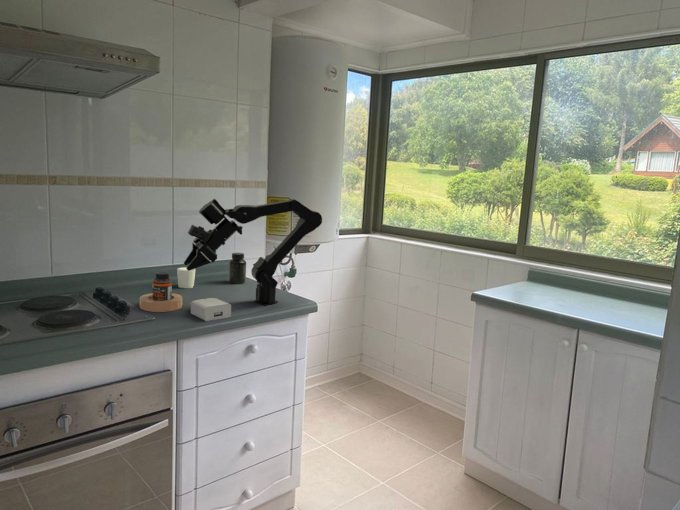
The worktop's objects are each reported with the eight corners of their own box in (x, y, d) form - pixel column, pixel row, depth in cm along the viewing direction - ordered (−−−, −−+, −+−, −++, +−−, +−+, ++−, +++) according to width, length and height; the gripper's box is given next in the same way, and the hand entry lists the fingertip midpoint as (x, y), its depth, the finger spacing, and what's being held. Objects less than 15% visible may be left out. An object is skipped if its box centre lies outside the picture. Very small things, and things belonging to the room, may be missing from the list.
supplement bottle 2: (240, 280, 215) (241, 251, 214) (248, 283, 210) (249, 254, 208) (225, 281, 211) (226, 252, 209) (233, 285, 206) (234, 255, 204)
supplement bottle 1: (149, 308, 167) (149, 273, 165) (155, 303, 173) (156, 270, 171) (168, 309, 167) (168, 275, 165) (173, 304, 173) (174, 271, 171)
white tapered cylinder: (190, 289, 195) (190, 271, 193) (173, 287, 196) (173, 269, 194) (198, 285, 201) (198, 267, 200) (181, 283, 202) (181, 266, 201)
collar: (190, 306, 171) (190, 298, 171) (156, 314, 161) (156, 305, 160) (165, 299, 179) (165, 290, 178) (131, 305, 168) (131, 296, 168)
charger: (206, 306, 174) (230, 317, 164) (181, 310, 168) (204, 322, 157) (207, 292, 173) (231, 303, 163) (181, 296, 167) (205, 307, 156)
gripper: (199, 213, 178) (166, 245, 176) (207, 220, 161) (170, 255, 159) (222, 236, 183) (189, 267, 180) (232, 245, 166) (195, 279, 163)
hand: (185, 266), depth 171 cm, fingers open, 9 cm apart
